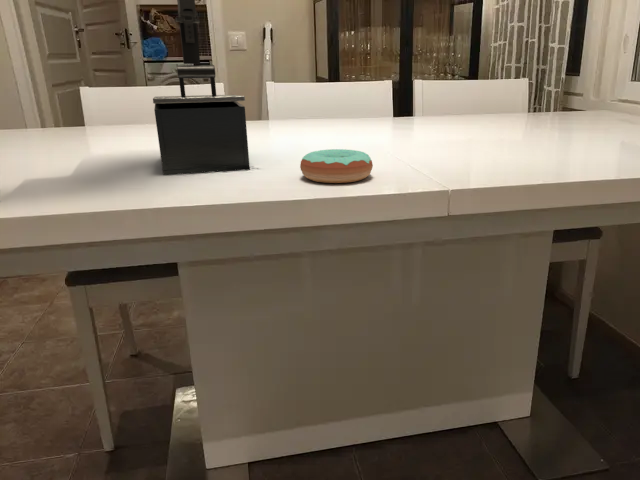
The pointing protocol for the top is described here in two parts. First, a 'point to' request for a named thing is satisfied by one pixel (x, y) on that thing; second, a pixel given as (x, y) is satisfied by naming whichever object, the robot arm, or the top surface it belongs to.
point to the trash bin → (202, 137)
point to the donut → (336, 166)
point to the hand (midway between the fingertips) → (191, 63)
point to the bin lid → (200, 72)
